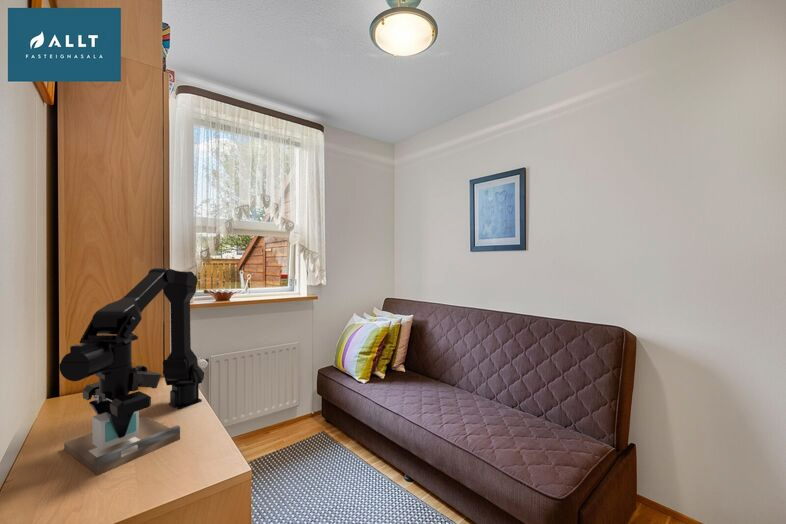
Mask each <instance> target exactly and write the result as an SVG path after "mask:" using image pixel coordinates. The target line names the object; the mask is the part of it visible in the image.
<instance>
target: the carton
mask: <svg viewBox="0 0 786 524" xmlns="http://www.w3.org/2000/svg"><path fill="white" fill-rule="evenodd" d="M91 417H92V420H91V421H92V425H91V427H92V429H91V430H92V434H93V444H94V445H95V446H96V447H98V448H99V449H101V450H102V449H105V448H108V447H110V446H113V445H115V444H118V443H120V442H123V441H126V440H128V439H131V438H133V437H136V436H138V435H139V417H140V410H139V411H136V412H134V413H133V415H132V418H131V420H130V423H129V426H128V429H127V432H126V435H125V436H124V437H122V438H118V436H117V434H116V432H115V430H114V428H113V426H112V424H111V422H110V420H109V418H108V416H107V414H106V413H102V414H99V415H97V414H96V415H94V416H93V415H92V416H91Z"/></svg>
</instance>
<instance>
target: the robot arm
mask: <svg viewBox="0 0 786 524" xmlns="http://www.w3.org/2000/svg"><path fill="white" fill-rule="evenodd" d="M197 285H198V277H197V275H195V273H194V272H193V271H183V270H182V271H180V270H175V269H173V268H169V267H154V268H151V269H149V271H148V273H147V275H146V276H144V277H143V279H142V280H140V281H139V282H138V283H137V284H136V285H135V286H134V287H133V288H132V289H130V291H129V292H128V293H126V294H125V295H124V296H123V297H122V298H120V299H118V300H116V301H113V302H110V303H108V304H106V305H104V306H103V307H101V308H99V309H98V310H97V311H95V313H94V314H93V315H92V317H91V318H92V319H91V320H90V321H89V324H88V325H87V327H86V329H85V332H84V333H83V334H82V336H81V338H80V340H79V344H74V345H70V347H69V351H70V352H68V353H67V354H65V355H64V356H63V357H62V359H61V361H60V363H59V365H58V367H59V371H60V374H61V376H62V377H64V378H65V379H66V380H68V381H71V382H78V381H81V380H84V379H86V378H89V377H91V376H94V375H95V376H96V377H97V378H98V382H93V383H89V384H87V385H86V386H85V387H84V388H83V389H82V399H83V400H86V401H89V402H88V404H89V406H91V408H92V409H93V410H94V412H95V414H96V415H99V414H102V413H106V414H107V416H108V418H109V420H110V422H111V424H112V426H113V428H114V430H115V432H116V434H117V436H118V438H122V437H124V436H125V435H126V432H127V429H128V426H129V423H130V420H131V418H132V415H133V413H134V412H136V411H139V412H140V411H141V410H144V409H148V408H150V407H151V406H152V397H151V396H150V395H148V394H146V393H145V392H142V391H139V388H151V389H157V388H158V385H159V384H160V383H159V382H160V380H161V377H162V375H163V377H164V378H163V379H164V382H165V385H166V386H171V390H170V391H169V395H170V396H169V403H168V406H172V407H174V408H177V409H179V410H182V409H184V408H188V407H191V406H193V405H196V404H198V403H201V402H202V400H203V399H201V398H200V397H199V396H200V395H199V393H200V392H199V388H200V387H199V386H200V385H199V384H202V383H203V381H204V378H205V372H204V371H203V369H202V368H201V367H200V366H199V364H198V357H197V355H196V354H195V353H194V351H193V350H192V348H191V347H192V346H191V343H192V342H191V300H192V299H193V297H194V296H195V294H196V293H197ZM162 290H163V291H162ZM161 291H162V292H163V295H164V296H165V297H166V298H167V300H168V301H169V303H170V304H169V305H170V306H169V307H170V309H169V310H170V353H169V354H168V356H167V358H166V359H164V360H163V361H162V374H161V373H158V372H155V371H150V370H148V367H147V366H145V365H136V366H133V361H132V360H133V354H132V352H133V351H132V349H133V348H132V343H133V341H136V340H138V339H139V336H137V334H135V333H133V332H134V331H135V330H136V328H137V326H138V325H140V322H141V321H142V320H143V317H142V313H143V311H144V310H145V308H146V307H148V305H149V304H150V303H151V302H152V301H153V300H154V299H155V298H156V297H157V296H158V294H160V292H161ZM130 392H132V393H130ZM92 398H93V400H92V401H90V400H91V399H92Z"/></svg>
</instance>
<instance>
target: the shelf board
mask: <svg viewBox="0 0 786 524" xmlns="http://www.w3.org/2000/svg"><path fill="white" fill-rule="evenodd" d="M179 440H181V425H174V426H172V427H168V426H167V425H164V424H163V423H161V422H159V421H156V420H154V419H153V418H151V417H148V416H146V415H145V414H143V415H139V435H138V436H136V437H133V438H131V439H128V440H126V441H123V442H120V443H118V444H115V445H113V446H110V447H108V448H105V449H102V450H101V449H99V448H98V447H96V446H95V445H94V444H93V434H92V433H91V432H90V433H89V434H85V435H83V436H80V437H77V438H75V439H71V440H69V441H65V442H63V450H64V451H66V453H68V454H70V455H71V456H72V457H74V459H76V460H77V461H78V462H79V463H81V464H82V465H83V466H84V467H86V468H88V470H89V471H91V472H92V473H94V474H95V475H97V476H100V475H102V474H103V473H106V472H107V471H110V470H112V469H114V468H118V467H120V466H122V465H124V464H127V463H129V462H131V461H134V460H136V459H137V458H140V457H143V456H144V455H147V454H149V453H151V452H154V451H156V450H158V449H159V450H160V449H161V448H163V447H165V446H166V447H167V445H168V446H169V444H172V443H175V442H176V441H179Z"/></svg>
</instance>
